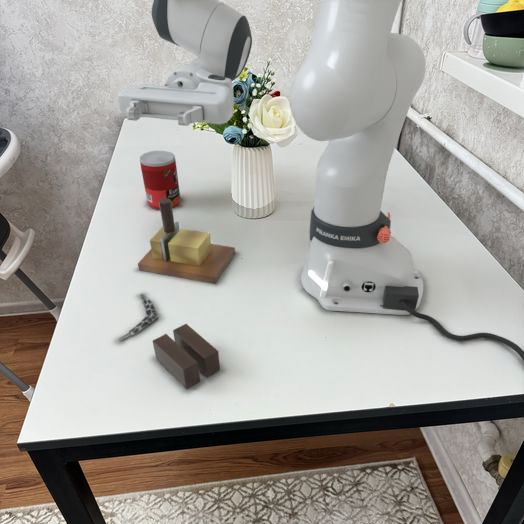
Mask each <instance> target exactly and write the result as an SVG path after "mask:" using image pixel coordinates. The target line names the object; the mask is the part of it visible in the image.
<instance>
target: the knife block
mask: <svg viewBox="0 0 524 524" xmlns="http://www.w3.org/2000/svg"><path fill="white" fill-rule="evenodd" d="M172 332H173V338H174V339H172V337H170V336H169V335H168V334H167V333H165V334H163V335H161V336H159V337H156V338H155V339H153V340H152V345H153V350H154V355H155V359H156V361H157V362H158V363H159V364H160V365H161V366H163V368H164V369H165V370H167V372H168V373H169V374H170V375H171V376H172V377H173V378H175V379H176V381H177V382H178V383H179V384H180V385H182V387H184V389H186V390H189V389H190V388H192V387H194V386H195V385H197V384H199V383H200V382H201V376H200V373H201V374H203V376H204V377H206V378H209V377H211V376H212V375H214V374H216V373H217V372H219V371H221V366H220V355H219V350H217V348H215V347H214V346H213V345H212V344H211V343H210V342H208V341H207V340H206V339H205V338H204V337H203V336H202V335H200V334H199V333H198V332H197V331H196V330H195V329H193V328H192V327H191V326H190V325H189V324H188V323H185V324H182V325H180V326H178V327H177V328H175V329H173V330H172Z"/></svg>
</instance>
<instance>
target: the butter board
mask: <svg viewBox="0 0 524 524" xmlns="http://www.w3.org/2000/svg"><path fill="white" fill-rule="evenodd" d="M179 229H180V230H179V231H178V233H177V234H176V235H175V236H174V237H173V238H172V239H171V240H170V242H169V243H168V247H169V254H170V259H169V260H168V261H167V262H164V259H163V253H162V247H161V241H160V239H161V237H162V236H163V235H164V234H165V233H166V232H164V229H163V226H162V227H161V228H160V229H159V230H158V231H157V232H156V233H155V234H154V235H153V236H152V237H151V238H150V239H149V244H150V250H149V251H148V252H146V254H145V255H144V256H143V257H142V258H141V259H140V260H139V262H138V263H137V266H138V270H139V271H143V272H149V273H154V274H160V275H165V276H171V277H175V278H176V277H177V278H181V279H187V280H191V281H198V282H203V283H210V284H214V285H216V283H217V282H218V280H219V279H220V277H221V276H222V274H223V273H224V271H225V270H226V268H227V267H228V265H229V264H230V263H231V261H232V259H233V258H234V257H235V255H236V248H235V247H233V246H229V245H220V244H215V243H212V239H211V233H210V232H207V231H200V230H194V229H188V228H179Z"/></svg>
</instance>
